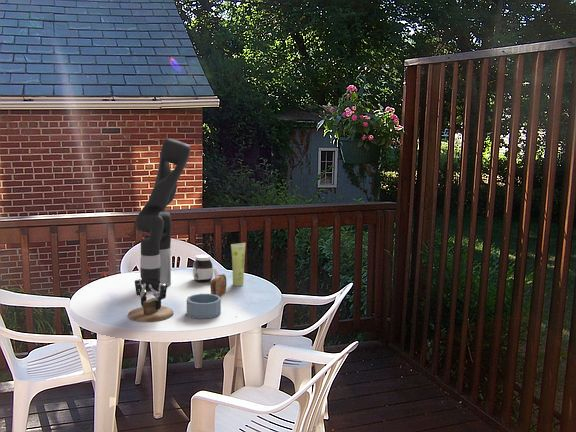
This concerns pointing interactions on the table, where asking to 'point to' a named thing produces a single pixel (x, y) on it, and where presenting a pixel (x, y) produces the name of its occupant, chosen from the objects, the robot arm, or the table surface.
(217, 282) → the brown thin box
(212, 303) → the bowl
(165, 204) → the robot arm
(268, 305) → the table surface
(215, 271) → the spread jar
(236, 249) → the tube
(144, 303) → the lid
